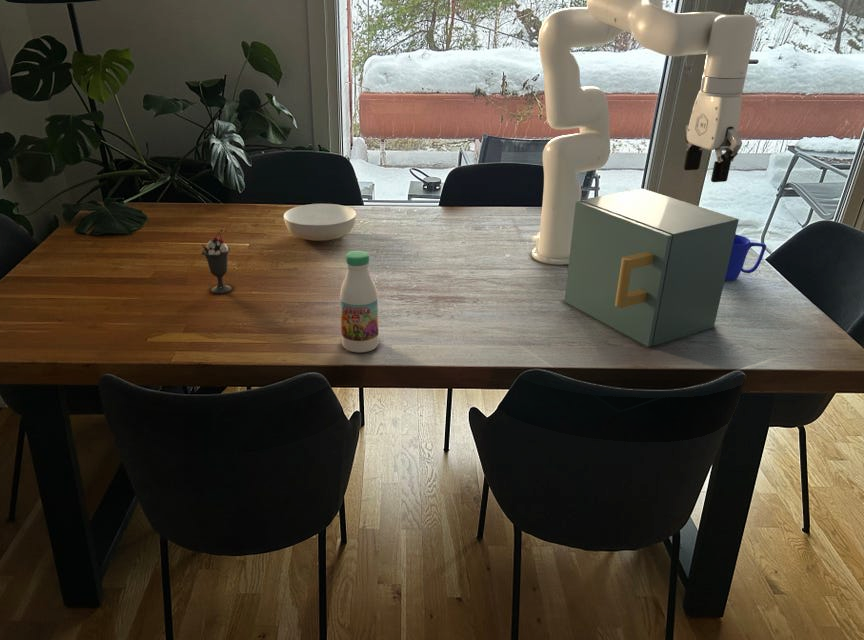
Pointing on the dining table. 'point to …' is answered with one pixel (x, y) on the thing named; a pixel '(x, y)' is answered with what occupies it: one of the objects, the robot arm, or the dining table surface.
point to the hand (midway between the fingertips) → (704, 175)
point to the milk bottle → (359, 305)
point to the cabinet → (681, 257)
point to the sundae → (217, 262)
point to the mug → (741, 257)
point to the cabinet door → (617, 271)
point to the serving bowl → (320, 221)
